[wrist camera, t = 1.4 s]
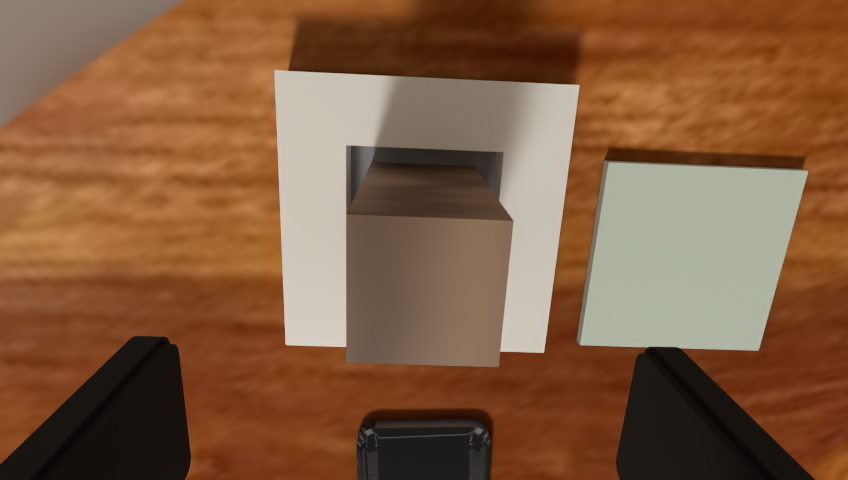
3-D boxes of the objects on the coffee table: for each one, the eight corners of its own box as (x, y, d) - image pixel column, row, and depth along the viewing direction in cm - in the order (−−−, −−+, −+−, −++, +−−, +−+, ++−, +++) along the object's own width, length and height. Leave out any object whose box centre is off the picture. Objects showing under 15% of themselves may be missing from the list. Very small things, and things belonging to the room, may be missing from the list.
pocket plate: (563, 84, 24) (579, 85, 22) (533, 330, 28) (543, 352, 26) (287, 71, 24) (274, 70, 21) (296, 322, 27) (285, 345, 25)
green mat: (799, 168, 25) (808, 170, 25) (751, 345, 28) (758, 350, 28) (604, 160, 25) (608, 162, 25) (576, 339, 28) (579, 345, 28)
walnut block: (474, 166, 25) (513, 220, 15) (467, 262, 26) (498, 366, 17) (372, 161, 24) (346, 214, 15) (370, 258, 26) (346, 362, 16)
